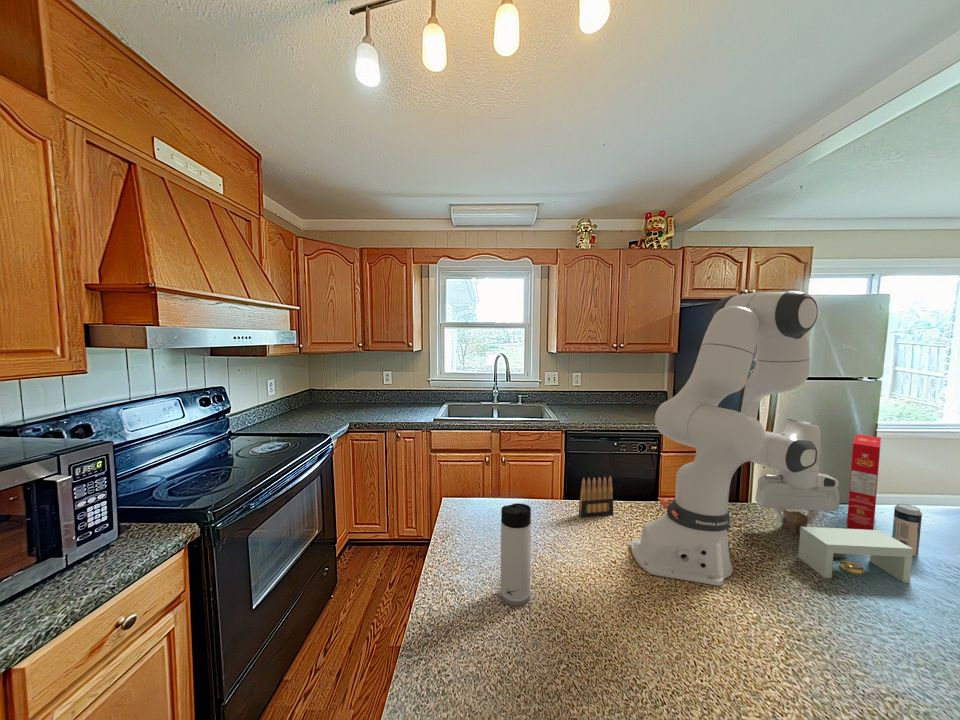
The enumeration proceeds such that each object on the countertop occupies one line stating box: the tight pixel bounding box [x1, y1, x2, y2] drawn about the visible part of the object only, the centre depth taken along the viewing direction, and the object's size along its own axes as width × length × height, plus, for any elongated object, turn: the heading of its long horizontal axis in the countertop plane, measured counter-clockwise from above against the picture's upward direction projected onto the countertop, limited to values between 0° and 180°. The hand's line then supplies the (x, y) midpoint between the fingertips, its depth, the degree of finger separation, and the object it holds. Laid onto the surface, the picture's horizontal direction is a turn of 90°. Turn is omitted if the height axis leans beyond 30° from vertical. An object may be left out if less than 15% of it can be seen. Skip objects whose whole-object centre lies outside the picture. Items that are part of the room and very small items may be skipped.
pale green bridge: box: [798, 526, 914, 584], centre depth 90 cm, size 18×8×8 cm, turn 85°
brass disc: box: [839, 560, 864, 576], centre depth 90 cm, size 4×4×1 cm
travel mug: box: [500, 502, 532, 607], centre depth 80 cm, size 6×7×20 cm
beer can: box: [891, 503, 923, 557], centre depth 97 cm, size 5×5×12 cm
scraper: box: [782, 509, 848, 559], centre depth 103 cm, size 6×16×5 cm, turn 175°
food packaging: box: [846, 433, 882, 530], centre depth 112 cm, size 15×5×25 cm, turn 133°
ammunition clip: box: [578, 475, 614, 518], centre depth 116 cm, size 11×2×12 cm, turn 100°
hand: (794, 522), depth 108 cm, fingers open, 6 cm apart
